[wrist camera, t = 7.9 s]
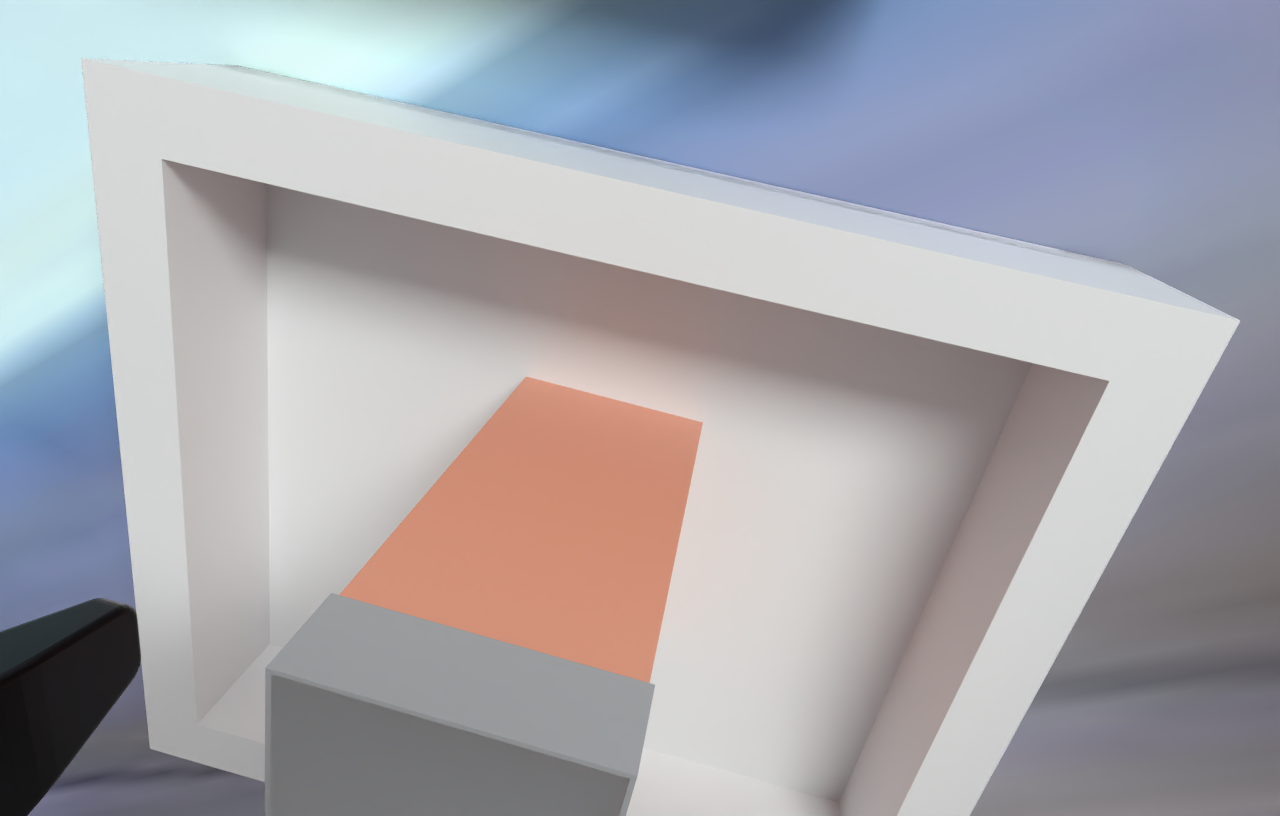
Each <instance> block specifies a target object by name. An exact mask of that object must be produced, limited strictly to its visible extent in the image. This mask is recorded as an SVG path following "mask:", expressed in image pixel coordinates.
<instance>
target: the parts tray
mask: <svg viewBox="0 0 1280 816" xmlns="http://www.w3.org/2000/svg"><path fill="white" fill-rule="evenodd" d="M81 59H82V69H83V79H84V89H85V99H86V109H87V119H88V129H89V140H90V150H91V160H92V170H93V180H94V190H95V200H96V210H97V220H98V230H99V240H100V250H101V260H102V271H103V281H104V291H105V301H106V311H107V321H108V331H109V341H110V351H111V361H112V371H113V381H114V391H115V402H116V412H117V422H118V432H119V442H120V452H121V462H122V472H123V482H124V492H125V502H126V512H127V522H128V532H129V543H130V553H131V563H132V573H133V583H134V593H135V603H136V613H137V619H138V629H139V639H140V649H141V663H142V674H143V684H144V694H145V704H146V714H147V724H148V734H149V744H150V749H152V750H156V751H159V752H163V753H166V754H170V755H173V756H176V757H180V758H183V759H187V760H190V761H194V762H197V763H200V764H204V765H207V766H211V767H214V768H218V769H221V770H224V771H228V772H231V773H235V774H238V775H242V776H245V777H249V778H252V779H255V780H259V781H262V782H265V668H266V667H267V665H268V664H269V663H270V662H271V661H272V660H273V659H274V657H275V656H276V655H277V654H278V653H279V652H280V651H281V649H282V648H283V647H284V646H285V645H286V644H287V643H288V642H289V640H290V639H291V638H292V637H293V636H294V635H295V634H296V632H297V631H298V630H299V629H300V628H301V627H302V626H303V624H304V623H305V622H306V621H307V620H308V619H309V618H310V616H311V615H312V614H313V613H314V612H315V611H316V610H317V608H318V607H319V606H320V605H321V604H322V603H323V602H324V600H325V599H326V598H327V597H328V596H329V595H330V594H331V593H333V594H337V595H339V594H340V593H341V592H342V591H343V590H344V589H345V587H346V586H347V585H348V584H349V583H350V582H351V580H352V579H353V578H354V577H355V576H356V575H357V573H358V572H359V571H360V570H361V569H362V568H363V566H364V565H365V564H366V563H367V562H368V561H369V559H370V558H371V557H372V556H373V555H374V554H375V552H376V551H377V550H378V549H379V548H380V547H381V545H382V544H383V543H384V542H385V541H386V540H387V538H388V537H389V536H390V535H391V534H392V533H393V531H394V530H395V529H396V528H397V527H398V526H399V524H400V523H401V522H402V521H403V520H404V519H405V517H406V516H407V515H408V514H409V513H410V512H411V510H412V509H413V508H414V507H415V506H416V505H417V503H418V502H419V501H420V500H421V499H422V498H423V496H424V495H425V494H426V493H427V492H428V491H429V489H430V488H431V487H432V486H433V485H434V484H435V482H436V481H437V480H438V479H439V478H440V477H441V475H442V474H443V473H444V472H445V471H446V469H447V468H448V467H449V466H450V465H451V464H452V462H453V461H454V460H455V459H456V458H457V457H458V455H459V454H460V453H461V452H462V451H463V450H464V448H465V447H466V446H467V445H468V444H469V443H470V441H471V440H472V439H473V438H474V437H475V436H476V434H477V433H478V432H479V431H480V430H481V429H482V427H483V426H484V425H485V424H486V423H487V422H488V420H489V419H490V418H491V417H492V416H493V415H494V413H495V412H496V411H497V410H498V409H499V408H500V406H501V405H502V404H503V403H504V402H505V401H506V399H507V398H508V397H509V396H510V395H511V394H512V392H513V391H514V390H515V389H516V388H517V387H518V385H519V384H520V383H521V382H522V381H523V380H524V378H525V377H530V378H534V379H538V380H542V381H546V382H549V383H553V384H557V385H561V386H565V387H569V388H573V389H576V390H580V391H584V392H588V393H592V394H596V395H599V396H603V397H607V398H611V399H615V400H619V401H622V402H626V403H630V404H634V405H638V406H642V407H646V408H649V409H653V410H657V411H661V412H665V413H669V414H672V415H676V416H680V417H684V418H688V419H692V420H695V421H699V422H703V425H702V430H701V435H700V439H699V444H698V449H697V454H696V459H695V464H694V469H693V474H692V479H691V483H690V488H689V493H688V498H687V503H686V508H685V513H684V518H683V522H682V527H681V532H680V537H679V542H678V547H677V552H676V557H675V562H674V566H673V571H672V576H671V581H670V586H669V591H668V596H667V601H666V605H665V610H664V615H663V620H662V625H661V630H660V635H659V640H658V645H657V649H656V654H655V659H654V664H653V669H652V674H651V679H650V683H651V684H655V689H654V694H653V699H652V704H651V709H650V714H649V720H648V725H647V730H646V735H645V740H644V745H643V750H642V756H641V761H640V766H639V771H638V776H637V779H636V783H635V786H634V790H633V793H632V796H631V800H630V803H629V807H628V810H627V813H626V816H970V814H971V812H972V810H973V809H974V807H975V805H976V803H977V801H978V800H979V798H980V796H981V794H982V792H983V790H984V789H985V787H986V785H987V783H988V781H989V779H990V778H991V776H992V774H993V772H994V770H995V768H996V767H997V765H998V763H999V761H1000V759H1001V757H1002V756H1003V754H1004V752H1005V750H1006V748H1007V747H1008V745H1009V743H1010V741H1011V739H1012V737H1013V736H1014V734H1015V732H1016V730H1017V728H1018V726H1019V725H1020V723H1021V721H1022V719H1023V717H1024V715H1025V714H1026V712H1027V710H1028V708H1029V706H1030V704H1031V703H1032V701H1033V699H1034V697H1035V695H1036V694H1037V692H1038V690H1039V688H1040V686H1041V684H1042V683H1043V681H1044V679H1045V677H1046V675H1047V673H1048V672H1049V670H1050V668H1051V666H1052V664H1053V662H1054V661H1055V659H1056V657H1057V655H1058V653H1059V651H1060V650H1061V648H1062V646H1063V644H1064V642H1065V641H1066V639H1067V637H1068V635H1069V633H1070V631H1071V630H1072V628H1073V626H1074V624H1075V622H1076V620H1077V619H1078V617H1079V615H1080V613H1081V611H1082V609H1083V608H1084V606H1085V604H1086V602H1087V600H1088V598H1089V597H1090V595H1091V593H1092V591H1093V589H1094V588H1095V586H1096V584H1097V582H1098V580H1099V578H1100V577H1101V575H1102V573H1103V571H1104V569H1105V567H1106V566H1107V564H1108V562H1109V560H1110V558H1111V556H1112V555H1113V553H1114V551H1115V549H1116V547H1117V545H1118V544H1119V542H1120V540H1121V538H1122V536H1123V535H1124V533H1125V531H1126V529H1127V527H1128V525H1129V524H1130V522H1131V520H1132V518H1133V516H1134V514H1135V513H1136V511H1137V509H1138V507H1139V505H1140V503H1141V502H1142V500H1143V498H1144V496H1145V494H1146V492H1147V491H1148V489H1149V487H1150V485H1151V483H1152V482H1153V480H1154V478H1155V476H1156V474H1157V472H1158V471H1159V469H1160V467H1161V465H1162V463H1163V461H1164V460H1165V458H1166V456H1167V454H1168V452H1169V450H1170V449H1171V447H1172V445H1173V443H1174V441H1175V439H1176V438H1177V436H1178V434H1179V432H1180V430H1181V429H1182V427H1183V425H1184V423H1185V421H1186V419H1187V418H1188V416H1189V414H1190V412H1191V410H1192V408H1193V407H1194V405H1195V403H1196V401H1197V399H1198V397H1199V396H1200V394H1201V392H1202V390H1203V388H1204V386H1205V385H1206V383H1207V381H1208V379H1209V377H1210V376H1211V374H1212V372H1213V370H1214V368H1215V366H1216V365H1217V363H1218V361H1219V359H1220V357H1221V355H1222V354H1223V352H1224V350H1225V348H1226V346H1227V344H1228V343H1229V341H1230V339H1231V337H1232V335H1233V333H1234V332H1235V330H1236V328H1237V326H1238V324H1239V323H1240V320H1238V319H1236V318H1234V317H1232V316H1230V315H1228V314H1226V313H1224V312H1222V311H1220V310H1218V309H1216V308H1214V307H1212V306H1210V305H1208V304H1205V303H1203V302H1201V301H1199V300H1197V299H1195V298H1193V297H1191V296H1189V295H1187V294H1185V293H1183V292H1181V291H1179V290H1177V289H1175V288H1173V287H1171V286H1169V285H1167V284H1165V283H1163V282H1161V281H1159V280H1156V279H1154V278H1152V277H1150V276H1148V275H1146V274H1144V273H1142V272H1140V271H1138V270H1136V269H1134V268H1132V267H1130V266H1128V265H1126V264H1122V263H1117V262H1113V261H1108V260H1104V259H1099V258H1095V257H1091V256H1086V255H1082V254H1077V253H1073V252H1068V251H1064V250H1059V249H1055V248H1050V247H1046V246H1041V245H1037V244H1032V243H1028V242H1024V241H1019V240H1015V239H1010V238H1006V237H1001V236H997V235H992V234H988V233H983V232H979V231H974V230H970V229H965V228H961V227H957V226H952V225H948V224H943V223H939V222H934V221H930V220H925V219H921V218H916V217H912V216H907V215H903V214H898V213H894V212H889V211H885V210H881V209H876V208H872V207H867V206H863V205H858V204H854V203H849V202H845V201H840V200H836V199H831V198H827V197H822V196H818V195H814V194H809V193H805V192H800V191H796V190H791V189H787V188H782V187H778V186H773V185H769V184H764V183H760V182H755V181H751V180H747V179H742V178H738V177H733V176H729V175H724V174H720V173H715V172H711V171H706V170H702V169H697V168H693V167H688V166H684V165H679V164H675V163H671V162H666V161H662V160H657V159H653V158H648V157H644V156H639V155H635V154H630V153H626V152H621V151H617V150H612V149H608V148H604V147H599V146H595V145H590V144H586V143H581V142H577V141H572V140H568V139H563V138H559V137H554V136H550V135H545V134H541V133H537V132H532V131H528V130H523V129H519V128H514V127H510V126H505V125H501V124H496V123H492V122H487V121H483V120H478V119H474V118H469V117H465V116H461V115H456V114H452V113H447V112H443V111H438V110H434V109H429V108H425V107H420V106H416V105H411V104H407V103H402V102H398V101H394V100H389V99H385V98H380V97H376V96H371V95H367V94H362V93H358V92H353V91H349V90H344V89H340V88H335V87H331V86H327V85H322V84H318V83H313V82H309V81H304V80H300V79H295V78H291V77H286V76H282V75H277V74H273V73H268V72H264V71H259V70H255V69H251V68H246V67H242V66H237V65H216V64H194V63H173V62H152V61H131V60H110V59H88V58H81Z"/></svg>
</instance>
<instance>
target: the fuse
mask: <svg viewBox="0 0 1280 816" xmlns="http://www.w3.org/2000/svg"><path fill="white" fill-rule="evenodd" d="M702 425H703V422H699V421H695V420H692V419H688V418H684V417H680V416H676V415H672V414H669V413H665V412H661V411H657V410H653V409H649V408H646V407H642V406H638V405H634V404H630V403H626V402H622V401H619V400H615V399H611V398H607V397H603V396H599V395H596V394H592V393H588V392H584V391H580V390H576V389H573V388H569V387H565V386H561V385H557V384H553V383H549V382H546V381H542V380H538V379H534V378H530V377H525V378H524V380H523V381H522V382H521V383H520V384H519V385H518V387H517V388H516V389H515V390H514V391H513V392H512V394H511V395H510V396H509V397H508V398H507V399H506V401H505V402H504V403H503V404H502V405H501V406H500V408H499V409H498V410H497V411H496V412H495V413H494V415H493V416H492V417H491V418H490V419H489V420H488V422H487V423H486V424H485V425H484V426H483V427H482V429H481V430H480V431H479V432H478V433H477V434H476V436H475V437H474V438H473V439H472V440H471V441H470V443H469V444H468V445H467V446H466V447H465V448H464V450H463V451H462V452H461V453H460V454H459V455H458V457H457V458H456V459H455V460H454V461H453V462H452V464H451V465H450V466H449V467H448V468H447V469H446V471H445V472H444V473H443V474H442V475H441V477H440V478H439V479H438V480H437V481H436V482H435V484H434V485H433V486H432V487H431V488H430V489H429V491H428V492H427V493H426V494H425V495H424V496H423V498H422V499H421V500H420V501H419V502H418V503H417V505H416V506H415V507H414V508H413V509H412V510H411V512H410V513H409V514H408V515H407V516H406V517H405V519H404V520H403V521H402V522H401V523H400V524H399V526H398V527H397V528H396V529H395V530H394V531H393V533H392V534H391V535H390V536H389V537H388V538H387V540H386V541H385V542H384V543H383V544H382V545H381V547H380V548H379V549H378V550H377V551H376V552H375V554H374V555H373V556H372V557H371V558H370V559H369V561H368V562H367V563H366V564H365V565H364V566H363V568H362V569H361V570H360V571H359V572H358V573H357V575H356V576H355V577H354V578H353V579H352V580H351V582H350V583H349V584H348V585H347V586H346V587H345V589H344V590H343V591H342V592H341V593H340V594H339V595H337V594H333V593H331V594H330V595H329V596H328V597H327V598H326V599H325V600H324V602H323V603H322V604H321V605H320V606H319V607H318V608H317V610H316V611H315V612H314V613H313V614H312V615H311V616H310V618H309V619H308V620H307V621H306V622H305V623H304V624H303V626H302V627H301V628H300V629H299V630H298V631H297V632H296V634H295V635H294V636H293V637H292V638H291V639H290V640H289V642H288V643H287V644H286V645H285V646H284V647H283V648H282V649H281V651H280V652H279V653H278V654H277V655H276V656H275V657H274V659H273V660H272V661H271V662H270V663H269V664H268V665H267V667H266V668H265V816H626V813H627V810H628V807H629V803H630V800H631V796H632V793H633V790H634V786H635V783H636V779H637V776H638V771H639V766H640V761H641V756H642V750H643V745H644V740H645V735H646V730H647V725H648V720H649V714H650V709H651V704H652V699H653V694H654V689H655V684H651V683H650V679H651V674H652V669H653V664H654V659H655V654H656V649H657V645H658V640H659V635H660V630H661V625H662V620H663V615H664V610H665V605H666V601H667V596H668V591H669V586H670V581H671V576H672V571H673V566H674V562H675V557H676V552H677V547H678V542H679V537H680V532H681V527H682V522H683V518H684V513H685V508H686V503H687V498H688V493H689V488H690V483H691V479H692V474H693V469H694V464H695V459H696V454H697V449H698V444H699V439H700V435H701V430H702Z"/></svg>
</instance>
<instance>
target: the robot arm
mask: <svg viewBox="0 0 1280 816" xmlns="http://www.w3.org/2000/svg"><path fill="white" fill-rule="evenodd" d="M140 661H141V649H140V639H139V629H138V619H137V613H136V611H135V610H134V609H133V607H131V606H129V605H127V604H123V603H119V602H116V601H112V600H109V599H103V598H98V599H93V600H89V601H86V602H84V603H81V604H78V605H75V606H72V607H69V608H67V609H64V610H61V611H58V612H55V613H52V614H49V615H47V616H44V617H41V618H38V619H35V620H32V621H30V622H27V623H24V624H21V625H18V626H15V627H12V628H10V629H7V630H4V631H1V632H0V816H27V815H28V814H29V813H30V812H31V811H32V810H33V808H34V807H35V806H36V805H37V804H38V803H39V801H40V800H41V799H42V798H43V797H44V796H45V794H46V793H47V792H48V791H49V789H50V788H51V787H52V786H53V784H54V783H55V782H56V781H57V779H58V778H59V777H60V775H61V774H62V773H63V771H64V770H65V769H66V767H67V766H68V765H69V763H70V762H71V761H72V760H73V758H74V757H75V756H76V754H77V753H78V752H79V750H80V749H81V748H82V746H83V745H84V744H85V742H86V741H87V740H88V738H89V737H90V736H91V734H92V733H93V732H94V730H95V729H96V728H97V726H98V725H99V724H100V722H101V721H102V720H103V718H104V717H105V716H106V714H107V713H108V712H109V710H110V709H111V708H112V706H113V705H114V704H115V703H116V701H117V700H118V699H119V697H120V696H121V695H122V693H123V692H124V691H125V689H126V688H127V687H128V685H129V684H130V683H131V681H132V680H133V678H134V677H135V675H136V673H137V671H138V668H139V666H140Z"/></svg>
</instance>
